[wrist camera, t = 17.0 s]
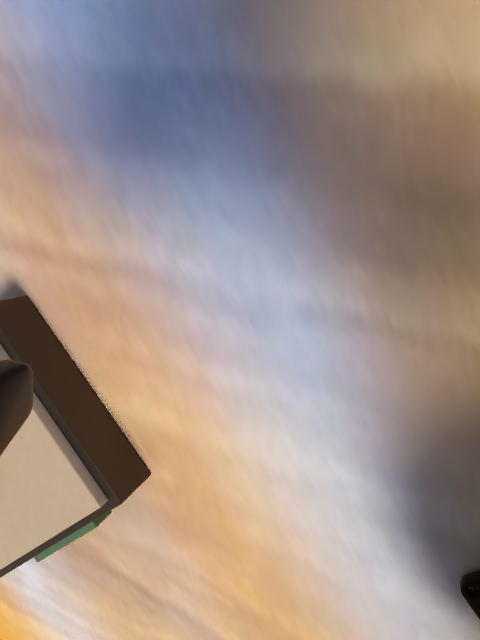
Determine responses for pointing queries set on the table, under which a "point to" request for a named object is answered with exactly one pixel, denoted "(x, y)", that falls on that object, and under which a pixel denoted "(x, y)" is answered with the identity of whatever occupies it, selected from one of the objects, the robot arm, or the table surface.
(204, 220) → the table surface
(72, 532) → the kitchen scale
